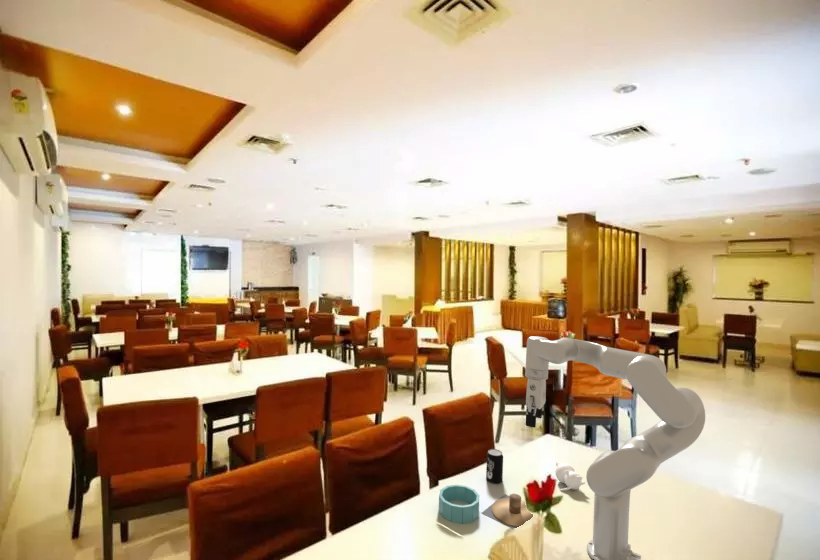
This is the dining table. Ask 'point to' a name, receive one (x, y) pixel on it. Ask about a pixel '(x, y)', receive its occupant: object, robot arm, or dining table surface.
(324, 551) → the dining table surface
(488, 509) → the mat
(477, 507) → the bowl
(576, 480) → the cat figurine
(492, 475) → the beverage can
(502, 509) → the lid
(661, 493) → the dining table surface
